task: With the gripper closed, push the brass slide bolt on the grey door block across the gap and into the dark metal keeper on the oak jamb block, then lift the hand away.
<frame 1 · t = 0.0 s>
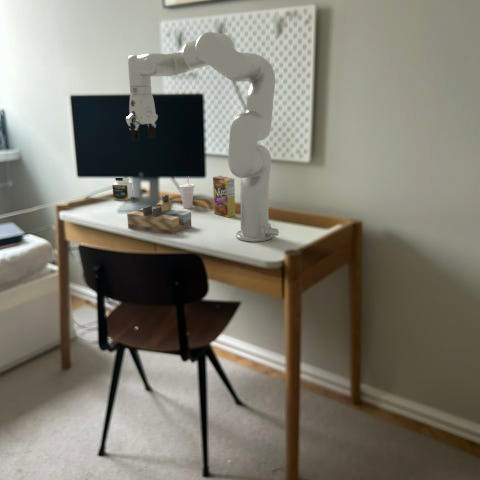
hand: (143, 139, 189), 31 cm above the table, tool pointing down, fingers open, 9 cm apart
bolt: (163, 203, 192), point 8 cm above the table, slide at 0.0 cm
candy box: (224, 215, 208), on the table
lock frame: (159, 227, 192), on the table
medicine bottle: (123, 198, 239), on the table
smoothie: (187, 208, 220), on the table
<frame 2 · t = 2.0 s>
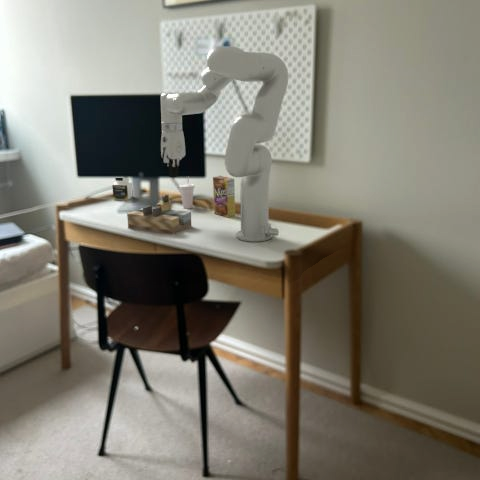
hand: (173, 176, 196), 17 cm above the table, tool pointing down, fingers closed
nothing on the table moved.
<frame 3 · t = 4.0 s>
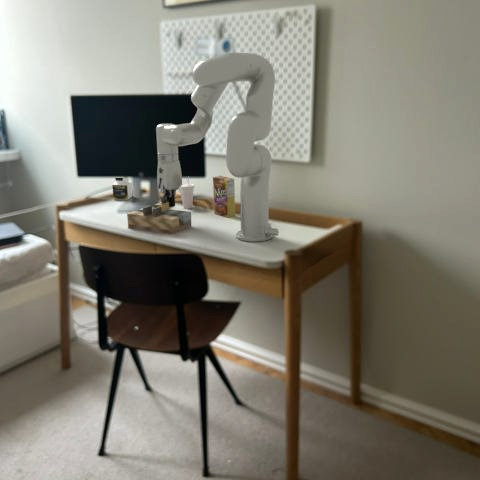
hand: (170, 206, 196), 6 cm above the table, tool pointing down, fingers closed
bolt: (161, 203, 191), point 8 cm above the table, slide at 1.2 cm, touching gripper
everything else where it was.
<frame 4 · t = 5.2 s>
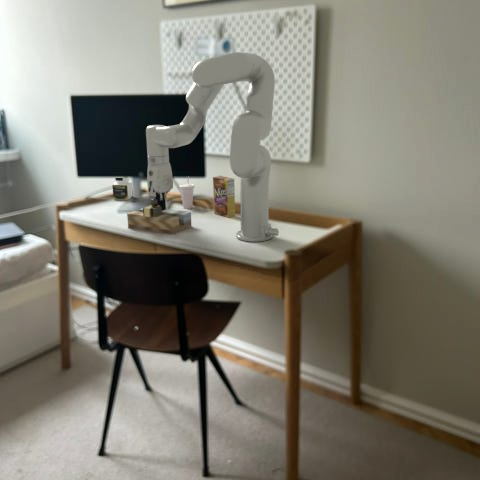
hand: (161, 209, 191), 6 cm above the table, tool pointing down, fingers closed
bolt: (151, 207, 186), point 8 cm above the table, slide at 7.2 cm, touching gripper
everything else where it was.
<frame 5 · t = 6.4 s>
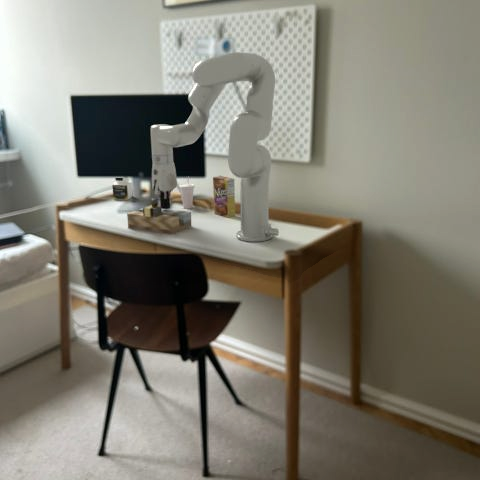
hand: (165, 208, 193), 6 cm above the table, tool pointing down, fingers closed
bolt: (152, 207, 186), point 8 cm above the table, slide at 7.0 cm
everything else where it was.
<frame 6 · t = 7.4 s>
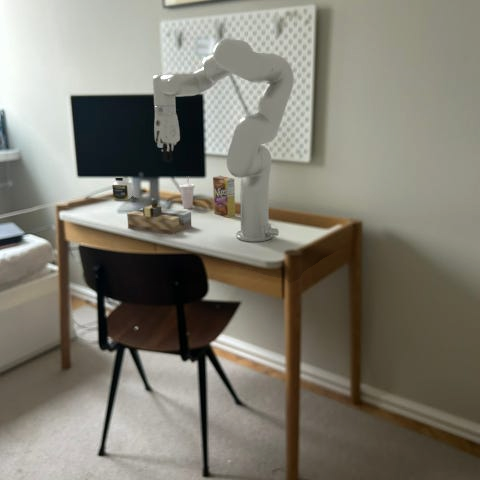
hand: (168, 161, 191), 23 cm above the table, tool pointing down, fingers closed
nothing on the table moved.
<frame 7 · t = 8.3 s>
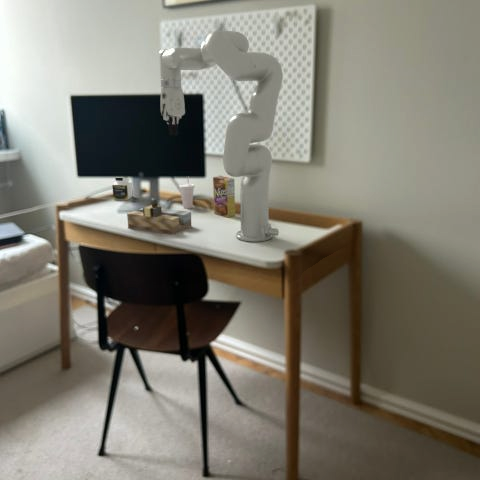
hand: (173, 134, 197), 32 cm above the table, tool pointing down, fingers closed
nothing on the table moved.
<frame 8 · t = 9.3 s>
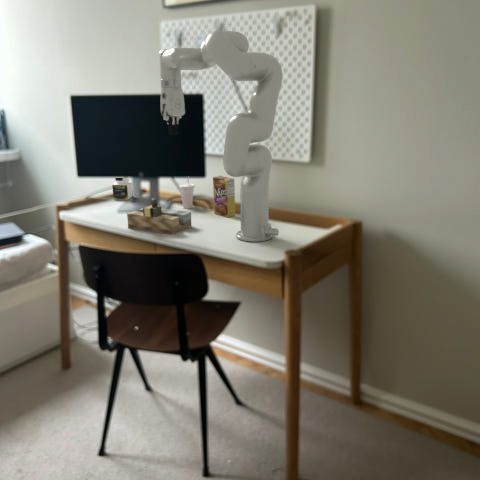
hand: (173, 134, 197), 32 cm above the table, tool pointing down, fingers closed
nothing on the table moved.
at the end: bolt slide at 7.0 cm; smoothie moved 0.2 cm from its start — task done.
